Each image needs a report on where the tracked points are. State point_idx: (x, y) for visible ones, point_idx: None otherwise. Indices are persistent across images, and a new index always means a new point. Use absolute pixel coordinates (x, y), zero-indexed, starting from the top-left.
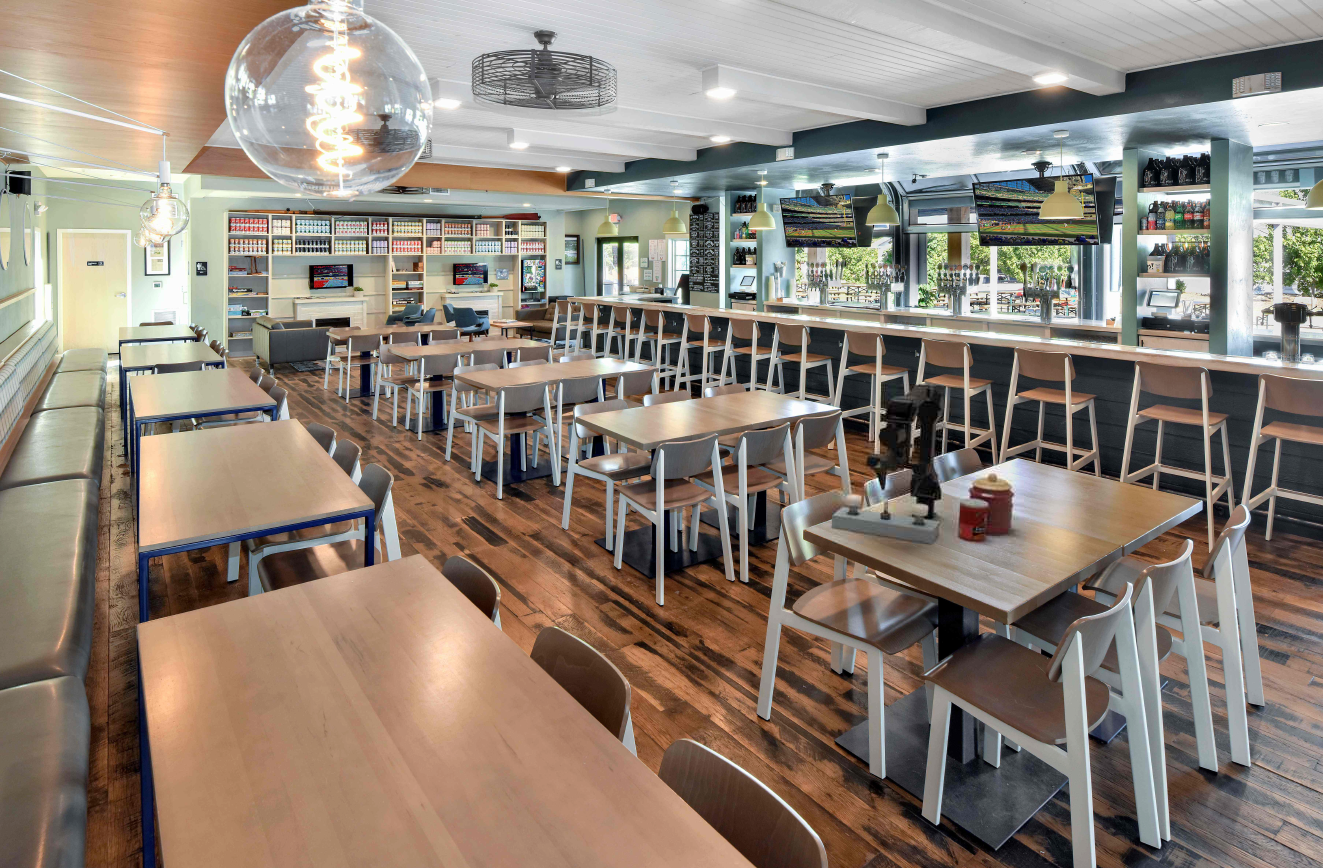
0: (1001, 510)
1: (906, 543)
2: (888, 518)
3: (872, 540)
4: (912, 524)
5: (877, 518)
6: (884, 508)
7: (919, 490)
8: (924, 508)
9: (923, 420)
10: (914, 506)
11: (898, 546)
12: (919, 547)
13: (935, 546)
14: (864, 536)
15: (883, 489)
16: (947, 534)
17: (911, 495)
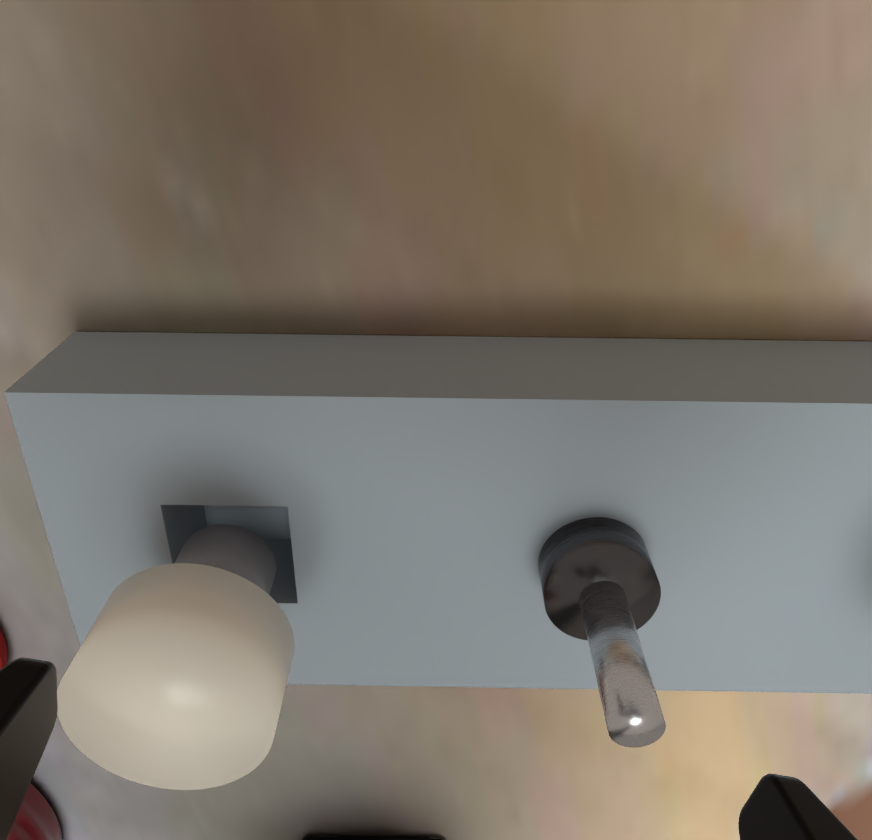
0: None
1: (285, 227)
2: (554, 543)
3: (638, 137)
4: (277, 501)
5: (673, 522)
6: (631, 632)
7: None
8: (76, 660)
9: None
10: (217, 671)
11: (326, 76)
12: (126, 166)
13: (14, 281)
14: (740, 230)
15: (761, 797)
16: None
17: (38, 661)
